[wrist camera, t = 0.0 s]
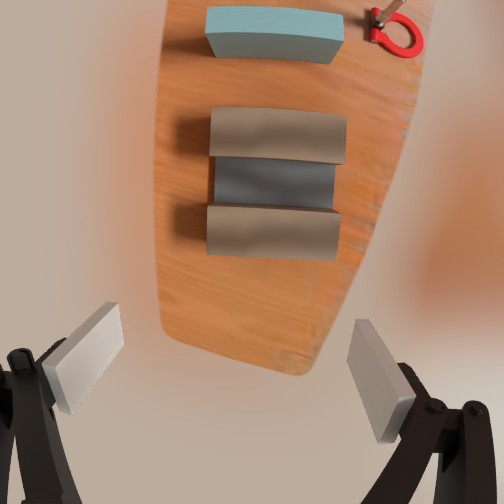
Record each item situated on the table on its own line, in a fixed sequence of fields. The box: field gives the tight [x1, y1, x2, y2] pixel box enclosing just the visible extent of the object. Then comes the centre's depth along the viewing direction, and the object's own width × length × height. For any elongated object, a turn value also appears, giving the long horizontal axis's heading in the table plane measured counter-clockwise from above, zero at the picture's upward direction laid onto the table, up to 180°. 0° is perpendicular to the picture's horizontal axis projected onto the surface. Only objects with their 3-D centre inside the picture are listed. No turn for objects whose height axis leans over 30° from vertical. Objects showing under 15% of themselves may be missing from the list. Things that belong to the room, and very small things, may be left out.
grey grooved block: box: [207, 107, 347, 262], centre depth 38 cm, size 18×16×6 cm
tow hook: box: [370, 0, 423, 58], centre depth 28 cm, size 8×13×9 cm
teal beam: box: [205, 6, 344, 64], centre depth 32 cm, size 16×4×9 cm, turn 87°
